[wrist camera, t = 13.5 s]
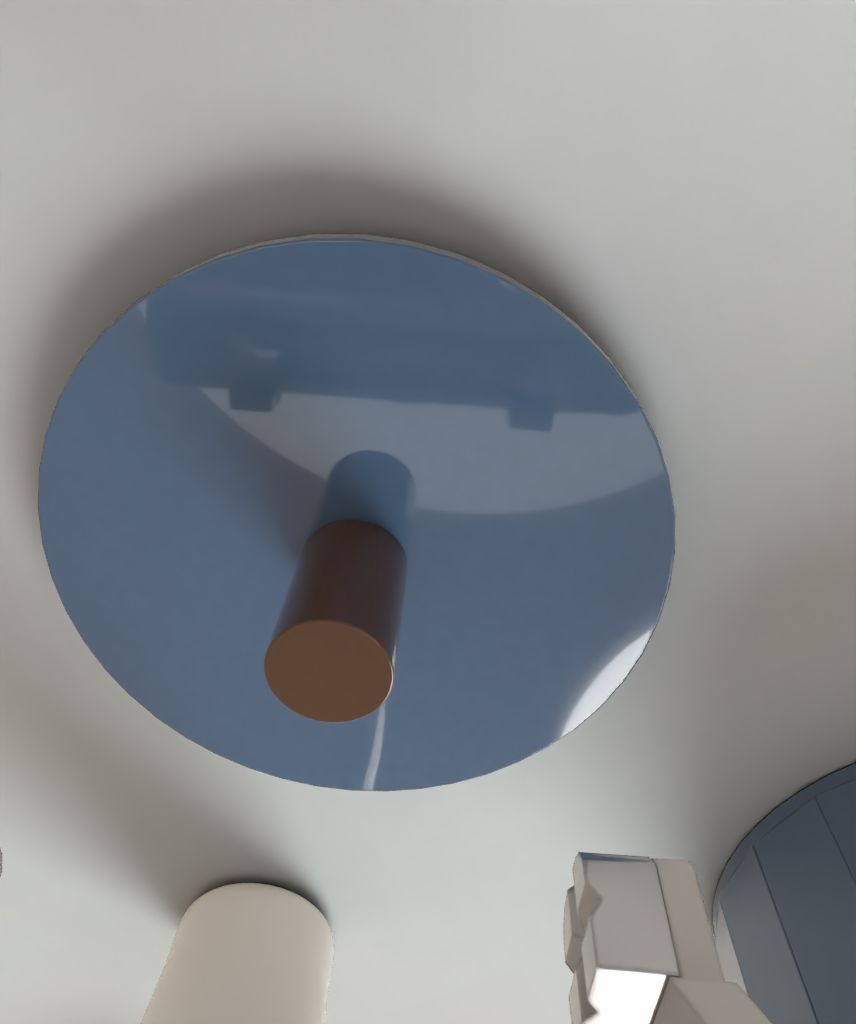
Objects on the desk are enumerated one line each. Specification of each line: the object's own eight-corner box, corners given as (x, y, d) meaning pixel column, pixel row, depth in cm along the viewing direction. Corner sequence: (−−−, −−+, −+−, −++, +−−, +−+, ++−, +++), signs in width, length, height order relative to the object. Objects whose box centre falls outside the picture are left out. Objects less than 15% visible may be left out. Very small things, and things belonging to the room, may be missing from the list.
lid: (5, 205, 17) (-164, 252, 12) (729, 252, 17) (826, 318, 12) (103, 741, 24) (18, 895, 20) (610, 778, 24) (643, 943, 20)
